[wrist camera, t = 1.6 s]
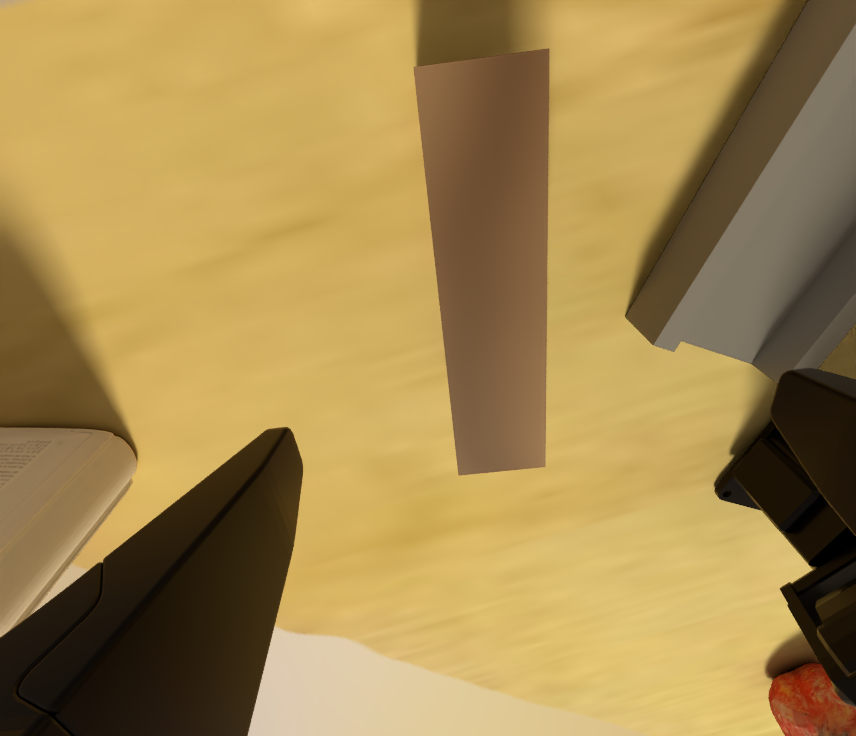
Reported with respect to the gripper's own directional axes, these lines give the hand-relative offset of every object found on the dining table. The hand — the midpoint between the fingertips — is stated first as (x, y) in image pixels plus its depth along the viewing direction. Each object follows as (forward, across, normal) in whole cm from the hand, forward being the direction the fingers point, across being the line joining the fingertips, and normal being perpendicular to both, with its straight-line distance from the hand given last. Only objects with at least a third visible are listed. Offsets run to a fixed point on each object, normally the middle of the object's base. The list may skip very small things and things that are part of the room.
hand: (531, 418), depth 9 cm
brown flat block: (+13, 0, 0) cm, 13 cm away
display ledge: (+13, -14, 0) cm, 19 cm away
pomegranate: (+13, -24, +38) cm, 47 cm away
